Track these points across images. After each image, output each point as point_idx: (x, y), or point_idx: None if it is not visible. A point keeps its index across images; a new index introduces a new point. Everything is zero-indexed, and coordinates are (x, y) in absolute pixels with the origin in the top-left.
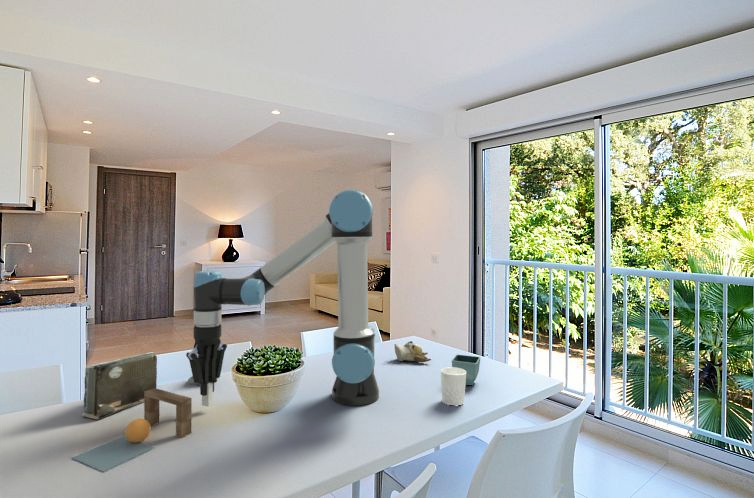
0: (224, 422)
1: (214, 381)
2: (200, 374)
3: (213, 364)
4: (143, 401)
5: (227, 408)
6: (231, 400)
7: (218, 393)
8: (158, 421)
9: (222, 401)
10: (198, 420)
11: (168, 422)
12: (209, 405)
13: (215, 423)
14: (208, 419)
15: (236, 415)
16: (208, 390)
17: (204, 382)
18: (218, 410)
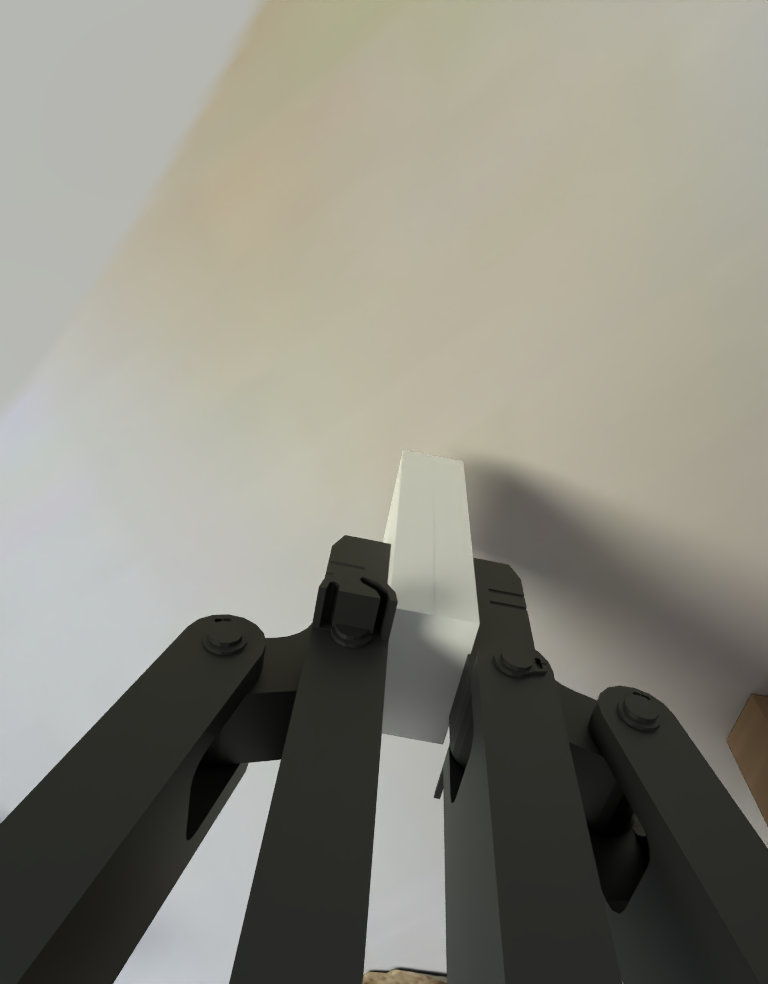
0: (645, 88)
1: (387, 593)
2: (723, 861)
3: (322, 928)
4: (419, 979)
5: (276, 315)
6: (76, 407)
7: (7, 627)
8: (766, 706)
9: (145, 480)
10: (645, 419)
11: (732, 637)
12: (447, 463)
13: (690, 185)
14: (602, 335)
15: (416, 66)
16: (473, 567)
17: (553, 689)
18: (359, 378)
